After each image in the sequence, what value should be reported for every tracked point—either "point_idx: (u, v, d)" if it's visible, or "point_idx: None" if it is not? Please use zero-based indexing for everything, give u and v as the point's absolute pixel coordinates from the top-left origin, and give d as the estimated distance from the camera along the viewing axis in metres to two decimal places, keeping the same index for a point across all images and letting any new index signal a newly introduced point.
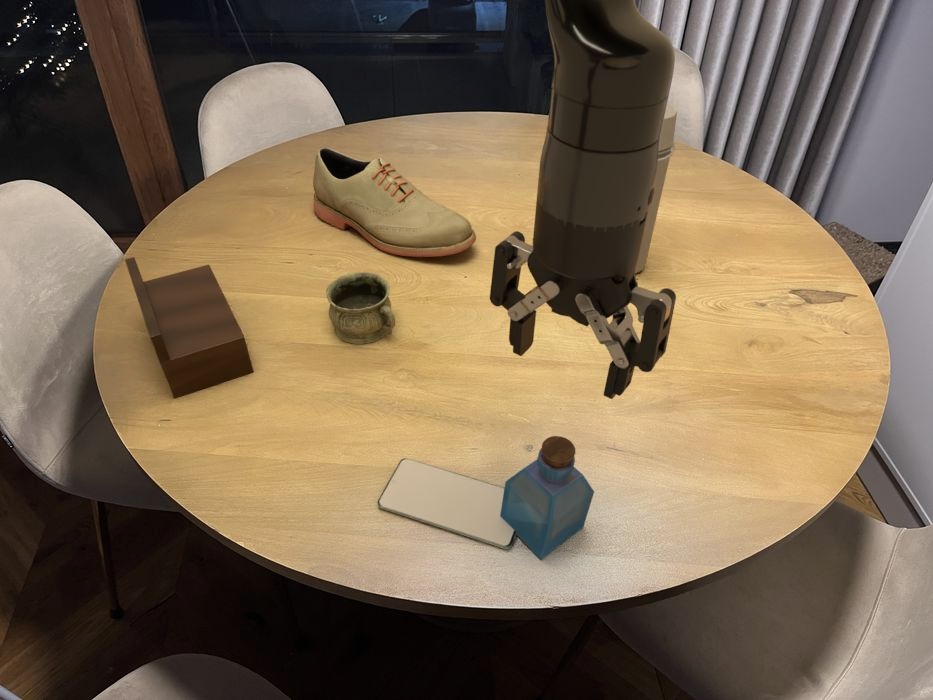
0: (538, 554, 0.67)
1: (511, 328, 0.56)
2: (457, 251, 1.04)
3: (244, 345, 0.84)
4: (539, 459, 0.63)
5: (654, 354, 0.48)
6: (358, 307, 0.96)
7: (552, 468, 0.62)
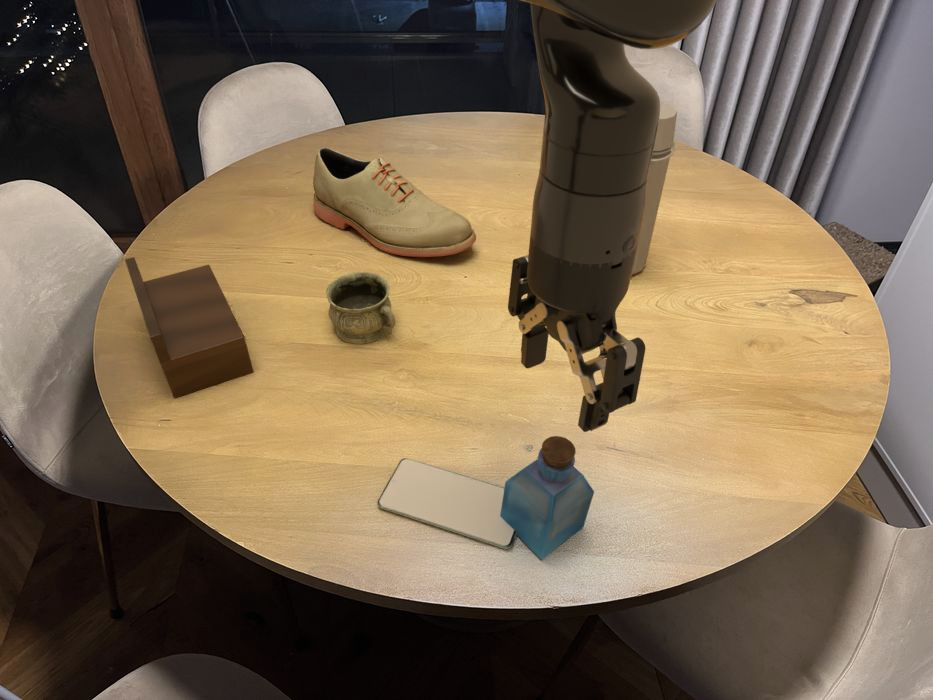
0: (538, 554, 0.67)
1: (522, 340, 0.59)
2: (457, 251, 1.04)
3: (244, 345, 0.84)
4: (539, 459, 0.63)
5: (612, 397, 0.49)
6: (358, 307, 0.96)
7: (552, 468, 0.62)
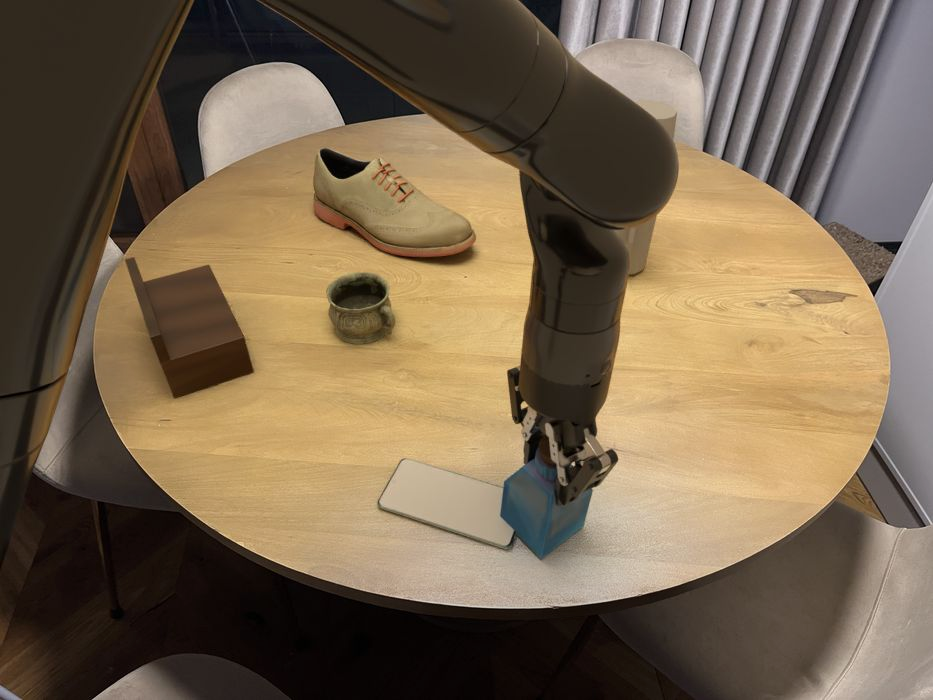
0: (538, 553, 0.67)
1: (525, 444, 0.66)
2: (457, 251, 1.04)
3: (244, 345, 0.84)
4: (536, 457, 0.63)
5: (582, 489, 0.58)
6: (358, 307, 0.96)
7: (549, 466, 0.62)
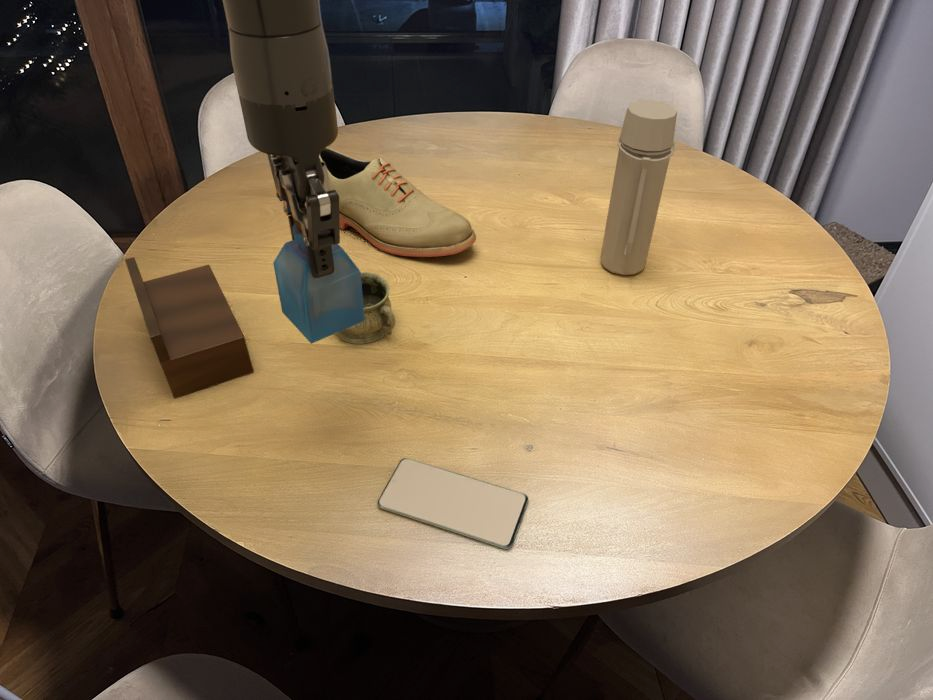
0: (308, 337, 0.67)
1: None
2: (457, 251, 1.04)
3: (244, 345, 0.84)
4: (293, 228, 0.63)
5: (312, 238, 0.57)
6: None
7: (302, 233, 0.62)
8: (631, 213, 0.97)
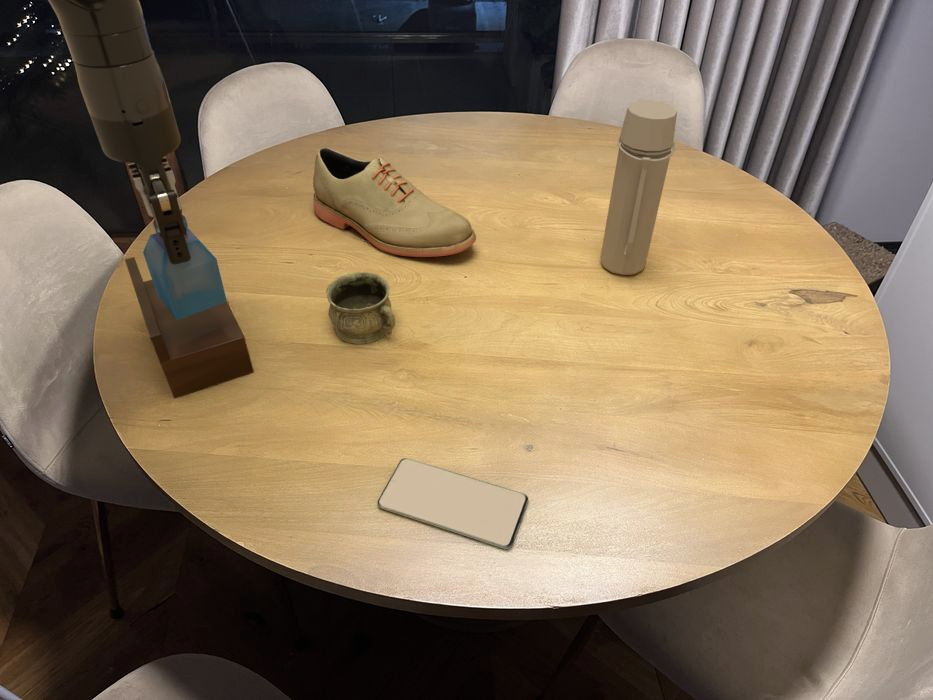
0: (174, 315, 0.79)
1: None
2: (457, 251, 1.04)
3: (244, 345, 0.84)
4: (154, 222, 0.75)
5: (159, 229, 0.69)
6: (358, 307, 0.96)
7: None
8: (631, 213, 0.97)
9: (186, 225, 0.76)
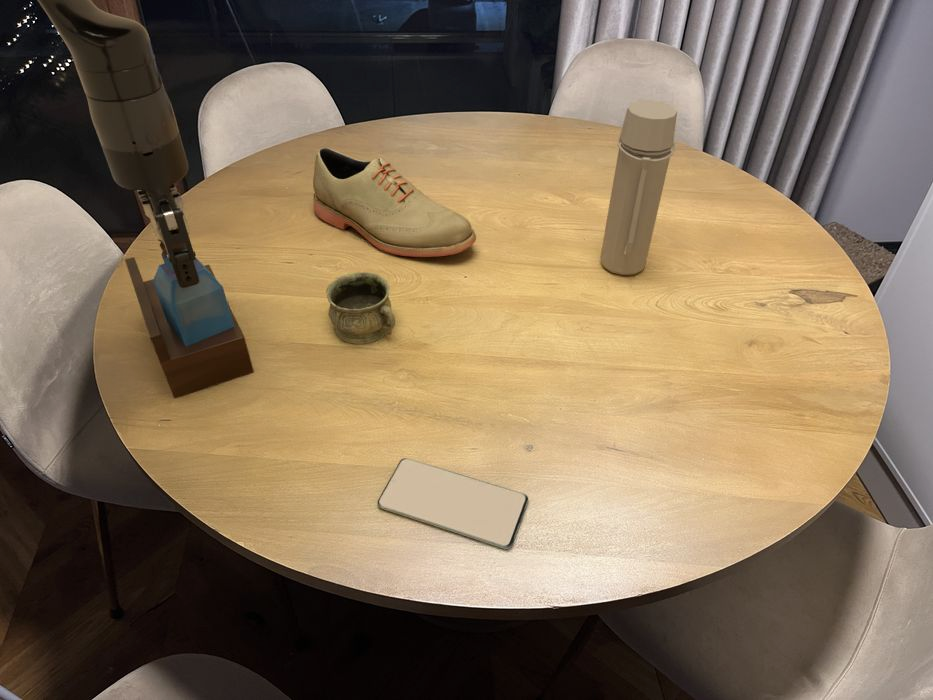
0: (183, 342, 0.82)
1: None
2: (457, 251, 1.04)
3: (244, 345, 0.84)
4: (162, 253, 0.78)
5: (168, 251, 0.70)
6: (358, 307, 0.96)
7: None
8: (631, 213, 0.97)
9: None
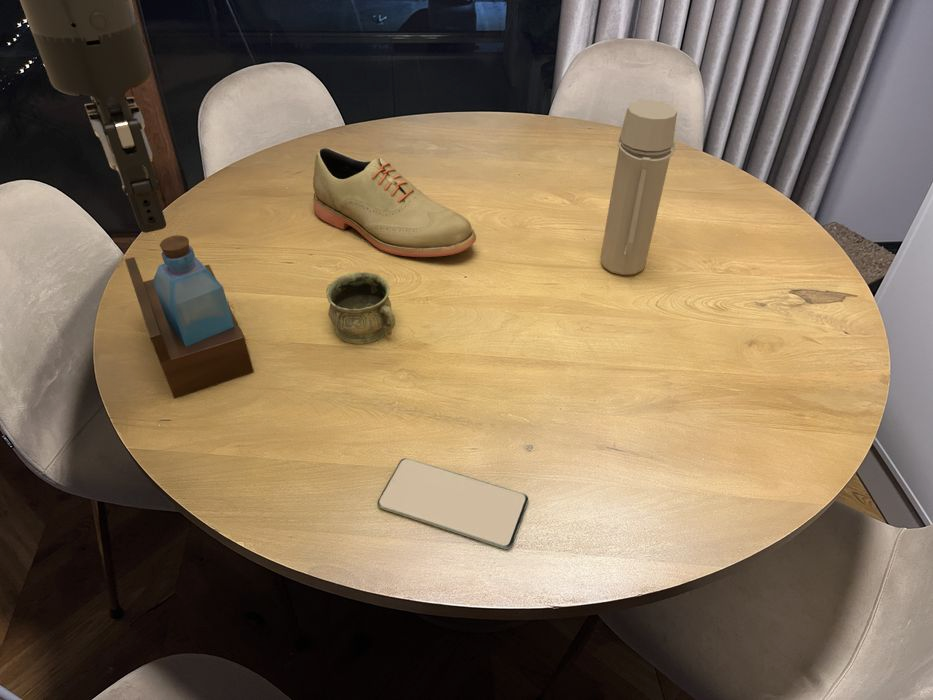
0: (183, 342, 0.82)
1: None
2: (457, 251, 1.04)
3: (244, 345, 0.84)
4: (162, 253, 0.78)
5: (121, 177, 0.53)
6: (358, 307, 0.96)
7: (168, 258, 0.77)
8: (631, 213, 0.97)
9: (193, 255, 0.79)
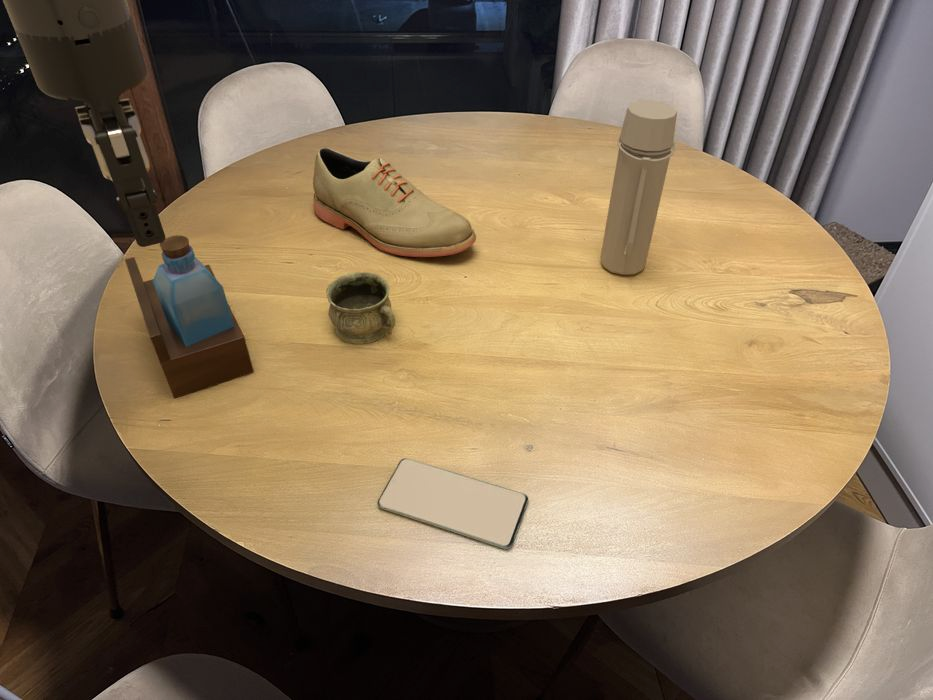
0: (183, 342, 0.82)
1: None
2: (457, 251, 1.04)
3: (244, 345, 0.84)
4: (162, 253, 0.78)
5: None
6: (358, 307, 0.96)
7: (168, 258, 0.77)
8: (631, 213, 0.97)
9: (193, 255, 0.79)
